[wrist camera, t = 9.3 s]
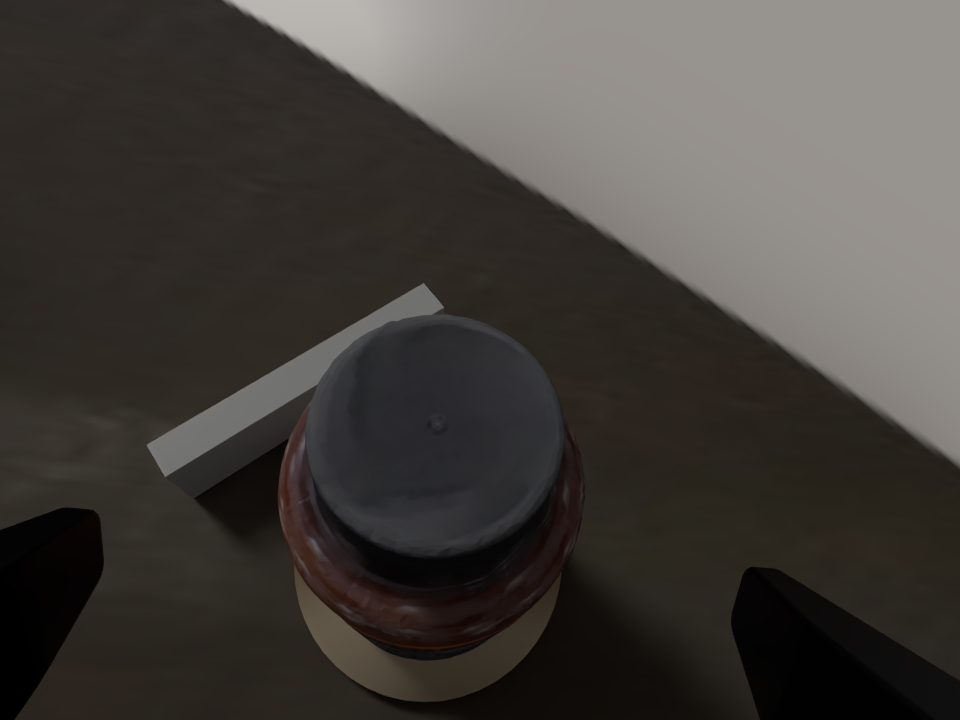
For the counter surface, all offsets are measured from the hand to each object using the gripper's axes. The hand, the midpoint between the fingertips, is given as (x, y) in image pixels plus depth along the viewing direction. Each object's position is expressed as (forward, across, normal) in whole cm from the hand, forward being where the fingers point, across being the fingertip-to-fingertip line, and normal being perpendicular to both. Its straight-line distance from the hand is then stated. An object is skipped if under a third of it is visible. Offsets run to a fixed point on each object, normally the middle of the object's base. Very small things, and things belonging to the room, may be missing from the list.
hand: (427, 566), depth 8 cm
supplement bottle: (+9, 0, +7) cm, 11 cm away
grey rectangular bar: (+13, +4, +3) cm, 14 cm away
